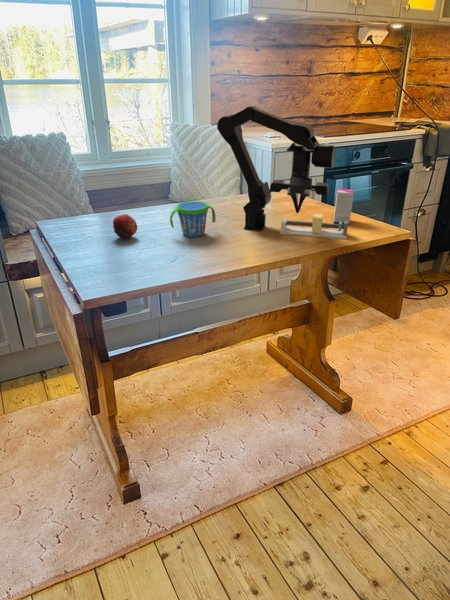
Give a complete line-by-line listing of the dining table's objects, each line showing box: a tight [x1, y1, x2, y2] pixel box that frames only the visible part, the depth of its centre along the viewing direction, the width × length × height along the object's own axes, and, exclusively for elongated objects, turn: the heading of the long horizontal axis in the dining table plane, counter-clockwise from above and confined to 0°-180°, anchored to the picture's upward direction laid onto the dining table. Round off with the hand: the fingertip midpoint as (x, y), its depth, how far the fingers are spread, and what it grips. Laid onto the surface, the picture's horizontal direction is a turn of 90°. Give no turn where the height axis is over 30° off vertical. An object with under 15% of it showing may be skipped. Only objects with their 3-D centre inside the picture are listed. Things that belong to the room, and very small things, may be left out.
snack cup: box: [169, 200, 217, 238], centre depth 157 cm, size 16×10×10 cm
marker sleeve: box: [311, 213, 324, 233], centre depth 157 cm, size 3×5×5 cm, turn 166°
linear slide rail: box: [280, 218, 349, 240], centre depth 158 cm, size 22×6×5 cm, turn 76°
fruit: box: [112, 213, 138, 240], centre depth 154 cm, size 8×8×8 cm
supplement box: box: [332, 188, 355, 225], centre depth 169 cm, size 6×6×12 cm
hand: (297, 212), depth 157 cm, fingers closed
